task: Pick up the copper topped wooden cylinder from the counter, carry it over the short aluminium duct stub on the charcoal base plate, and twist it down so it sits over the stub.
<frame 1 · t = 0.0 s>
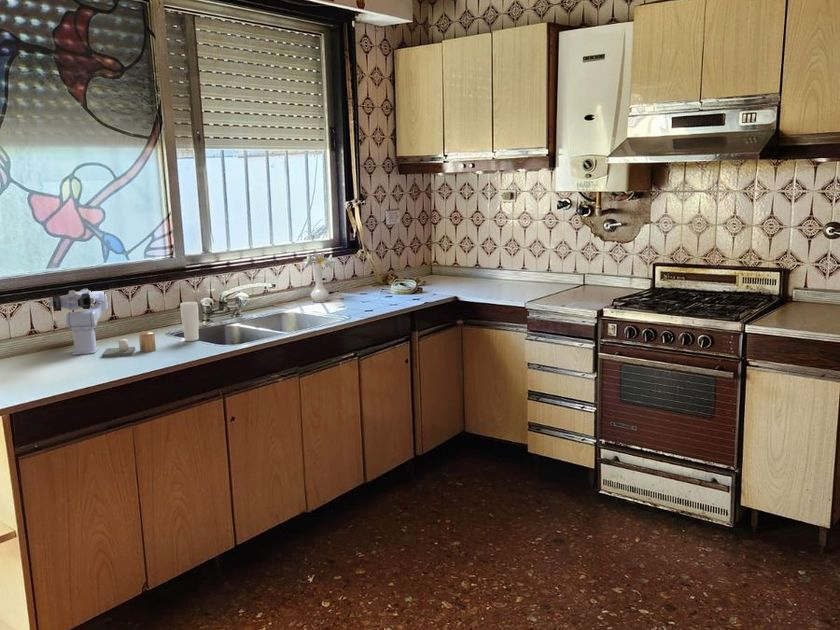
hand: (67, 303, 257), 22 cm above the counter, tool horizontal, fingers open, 7 cm apart
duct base: (119, 353, 275), on the counter
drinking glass: (192, 340, 295), on the counter
flower vase: (320, 301, 379), on the counter
copper topped wooden cylinder: (148, 350, 279), on the counter
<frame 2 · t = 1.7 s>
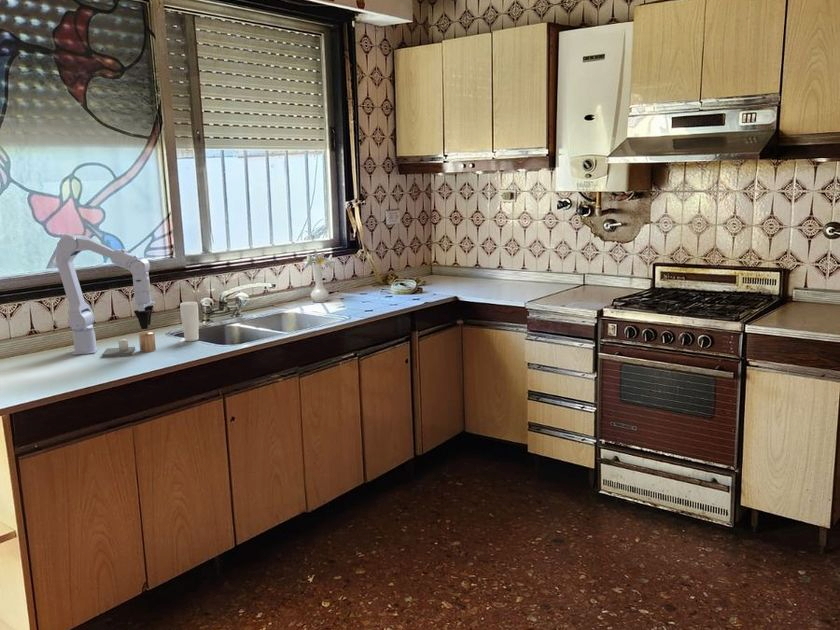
hand: (145, 326, 278), 9 cm above the counter, tool pointing down, fingers open, 7 cm apart
nothing on the counter moved.
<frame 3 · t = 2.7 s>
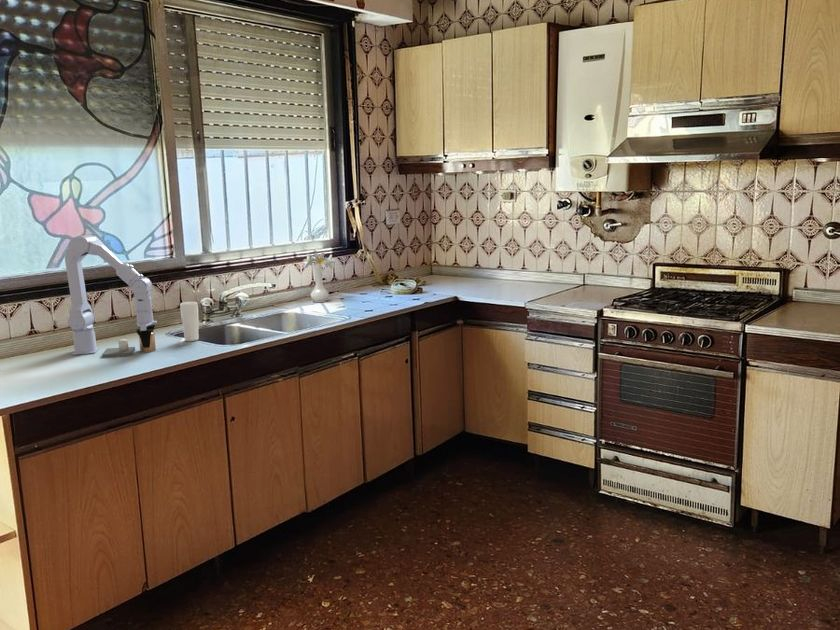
hand: (147, 345, 279), 2 cm above the counter, tool pointing down, fingers closed on copper topped wooden cylinder, 5 cm apart
copper topped wooden cylinder: (148, 350, 279), on the counter, touching gripper
everything else where it was.
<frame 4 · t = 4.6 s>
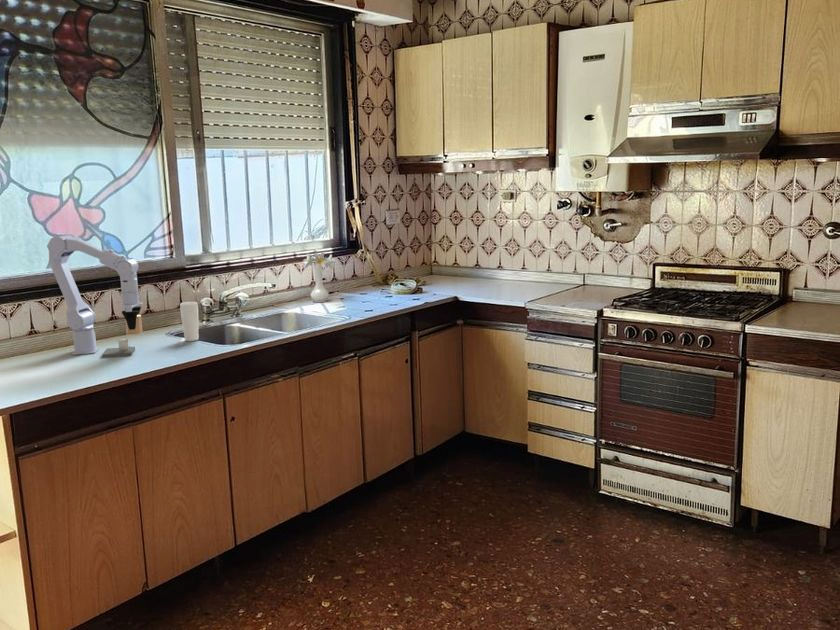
hand: (133, 327, 275), 9 cm above the counter, tool pointing down, fingers closed on copper topped wooden cylinder, 5 cm apart
copper topped wooden cylinder: (134, 332, 276), point 7 cm above the counter, touching gripper
everything else where it was.
when the fingers open (4 cm above the counter, at t = 6.4 s): copper topped wooden cylinder drops 1 cm, resting on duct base.
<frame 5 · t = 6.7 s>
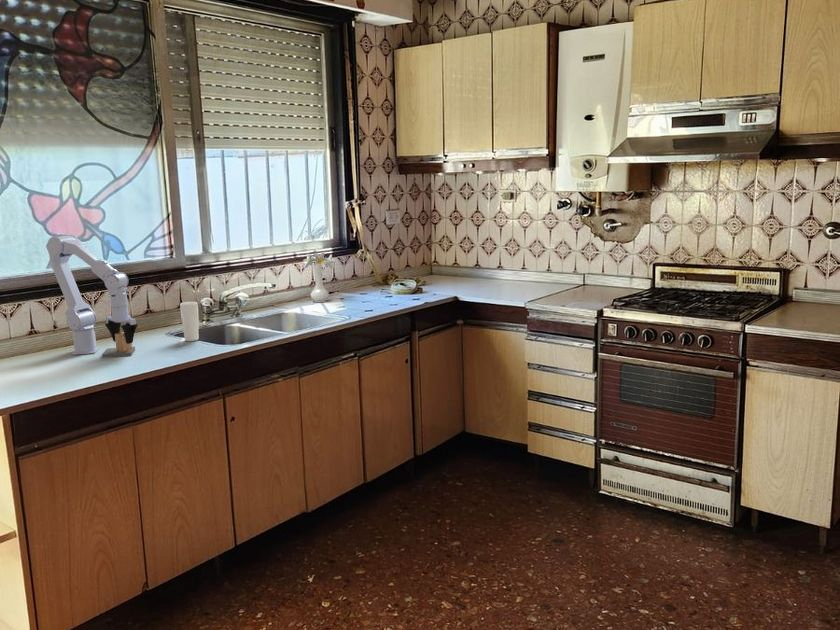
hand: (123, 342, 274), 4 cm above the counter, tool pointing down, fingers open, 7 cm apart
copper topped wooden cylinder: (124, 350, 275), point 1 cm above the counter, touching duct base
everything else where it was.
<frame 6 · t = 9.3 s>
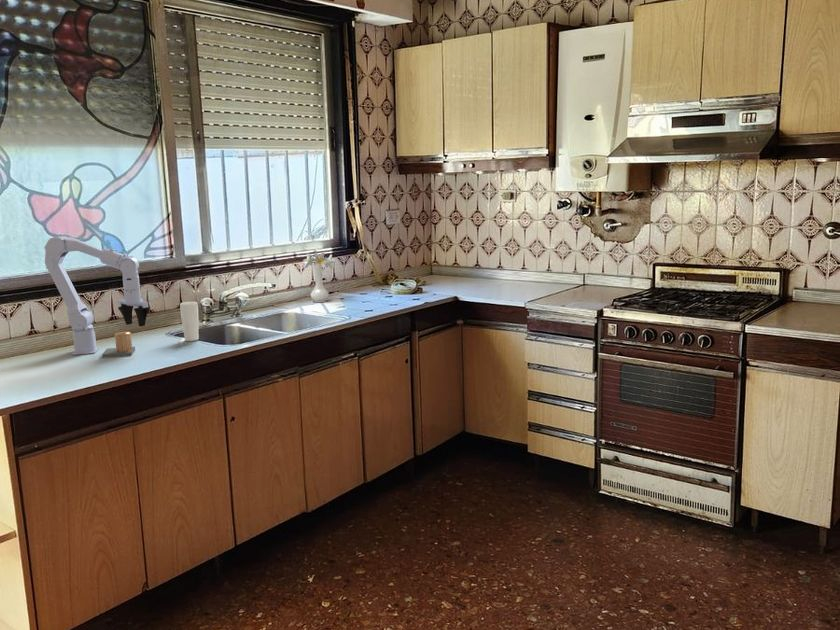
hand: (135, 325, 280), 9 cm above the counter, tool pointing down, fingers open, 7 cm apart
nothing on the counter moved.
at the end: copper topped wooden cylinder 0.1 cm from the target spot on the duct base, point 1.2 cm above the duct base's base; copper topped wooden cylinder tilted 0°; the gripper is holding nothing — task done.
